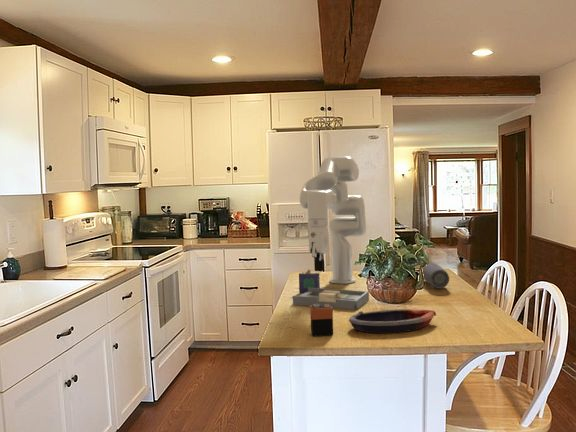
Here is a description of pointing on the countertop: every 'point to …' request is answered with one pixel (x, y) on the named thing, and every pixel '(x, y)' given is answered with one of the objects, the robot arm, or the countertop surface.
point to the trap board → (346, 301)
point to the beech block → (329, 296)
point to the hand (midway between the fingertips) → (319, 270)
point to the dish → (391, 320)
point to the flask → (308, 281)
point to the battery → (321, 320)
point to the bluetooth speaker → (435, 275)
